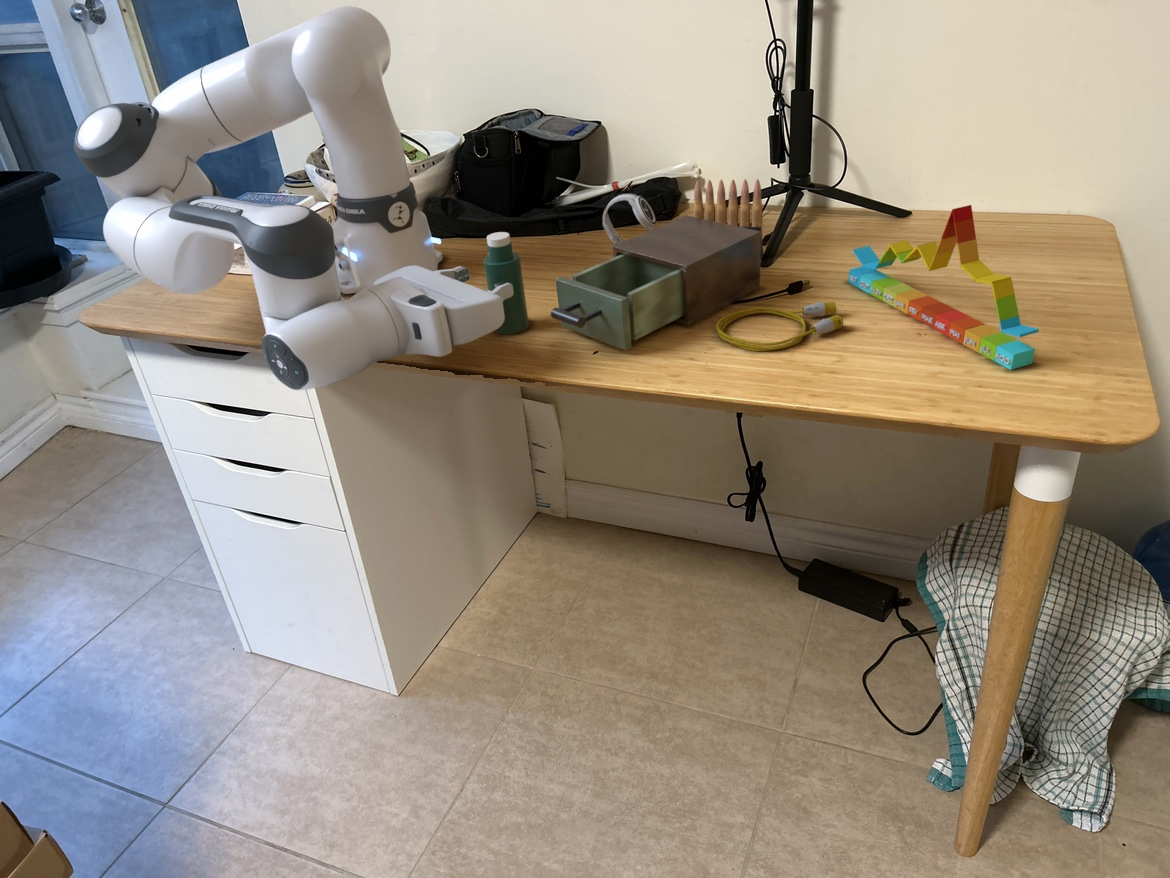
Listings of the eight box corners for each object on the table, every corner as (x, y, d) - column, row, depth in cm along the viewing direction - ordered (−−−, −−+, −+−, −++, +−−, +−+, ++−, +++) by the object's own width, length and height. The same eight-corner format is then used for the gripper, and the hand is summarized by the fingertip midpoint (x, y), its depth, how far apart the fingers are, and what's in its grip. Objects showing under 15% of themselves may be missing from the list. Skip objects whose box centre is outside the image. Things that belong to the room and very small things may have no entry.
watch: (655, 272, 129) (651, 200, 123) (603, 272, 131) (597, 202, 125) (660, 258, 134) (657, 189, 128) (610, 259, 136) (605, 190, 130)
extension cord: (840, 356, 101) (842, 341, 100) (709, 349, 106) (709, 335, 105) (844, 313, 111) (845, 299, 110) (724, 309, 116) (724, 296, 114)
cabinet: (688, 326, 112) (686, 266, 108) (616, 303, 121) (612, 246, 116) (759, 288, 120) (761, 231, 116) (688, 269, 129) (686, 215, 125)
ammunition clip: (692, 258, 133) (690, 181, 126) (694, 254, 134) (692, 178, 128) (761, 259, 130) (763, 180, 123) (763, 255, 131) (764, 177, 125)
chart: (846, 282, 119) (855, 175, 111) (866, 277, 120) (875, 171, 112) (1008, 370, 95) (1034, 241, 87) (1031, 364, 96) (1059, 235, 88)
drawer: (600, 363, 104) (596, 312, 100) (536, 337, 112) (530, 289, 108) (700, 311, 114) (699, 264, 110) (635, 291, 122) (632, 246, 118)
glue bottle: (487, 328, 117) (472, 237, 110) (514, 316, 120) (501, 227, 113) (509, 337, 114) (494, 244, 107) (536, 325, 117) (523, 233, 110)
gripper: (361, 318, 112) (446, 285, 120) (450, 361, 99) (539, 320, 107) (349, 273, 109) (438, 242, 117) (440, 311, 96) (533, 273, 103)
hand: (487, 279), depth 111 cm, fingers open, 8 cm apart
